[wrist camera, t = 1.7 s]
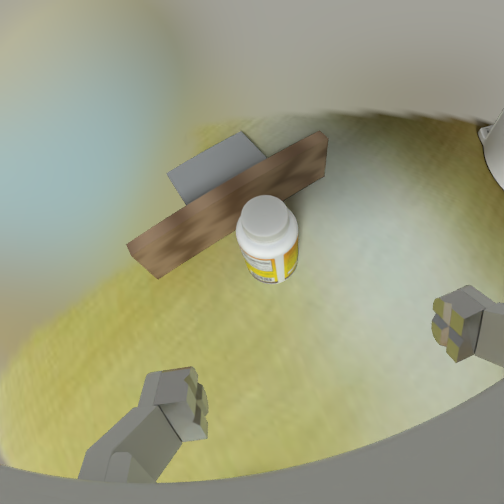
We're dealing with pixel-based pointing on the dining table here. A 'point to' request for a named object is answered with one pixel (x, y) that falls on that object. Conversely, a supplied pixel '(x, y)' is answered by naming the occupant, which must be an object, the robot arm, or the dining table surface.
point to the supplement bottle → (268, 239)
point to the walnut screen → (228, 206)
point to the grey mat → (214, 167)
